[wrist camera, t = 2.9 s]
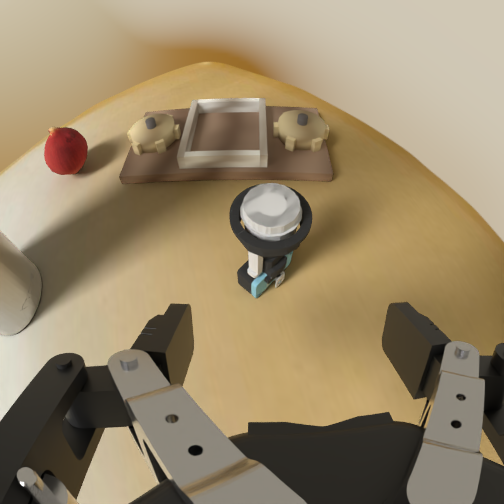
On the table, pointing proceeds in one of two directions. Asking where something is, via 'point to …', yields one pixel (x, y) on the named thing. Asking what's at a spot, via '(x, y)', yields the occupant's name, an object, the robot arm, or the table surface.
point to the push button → (268, 232)
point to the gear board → (228, 143)
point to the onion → (65, 150)
